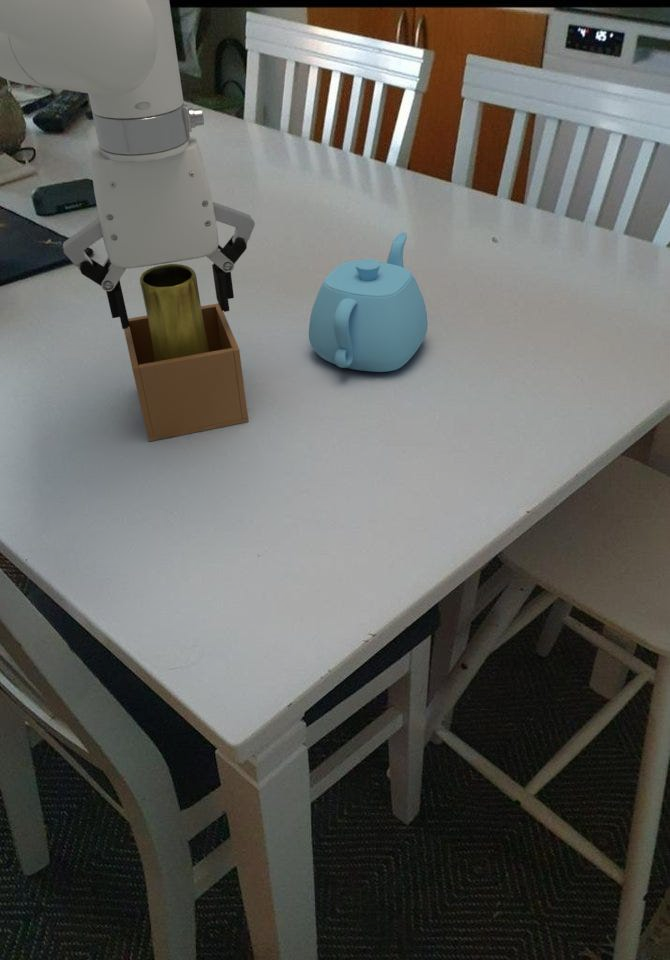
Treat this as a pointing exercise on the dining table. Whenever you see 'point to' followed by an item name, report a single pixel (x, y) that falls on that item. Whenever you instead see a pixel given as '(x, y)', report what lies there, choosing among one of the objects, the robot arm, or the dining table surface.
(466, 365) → the dining table surface
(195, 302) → the vase
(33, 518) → the dining table surface
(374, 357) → the teapot
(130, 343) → the package
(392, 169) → the dining table surface
